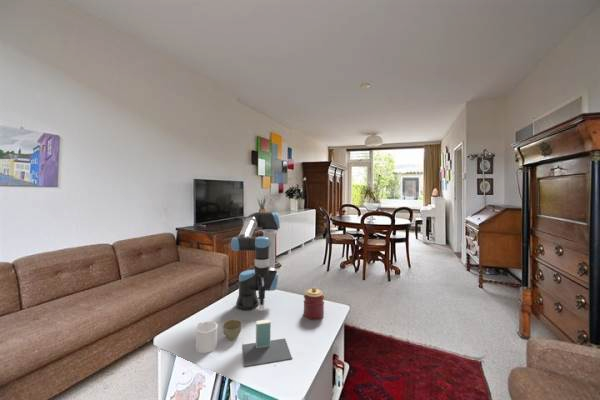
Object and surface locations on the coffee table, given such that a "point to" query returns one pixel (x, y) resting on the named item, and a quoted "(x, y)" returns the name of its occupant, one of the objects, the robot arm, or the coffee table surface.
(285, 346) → the mat
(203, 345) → the mug
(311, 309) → the canister
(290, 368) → the coffee table surface
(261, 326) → the slab
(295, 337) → the coffee table surface
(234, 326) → the flower pot
